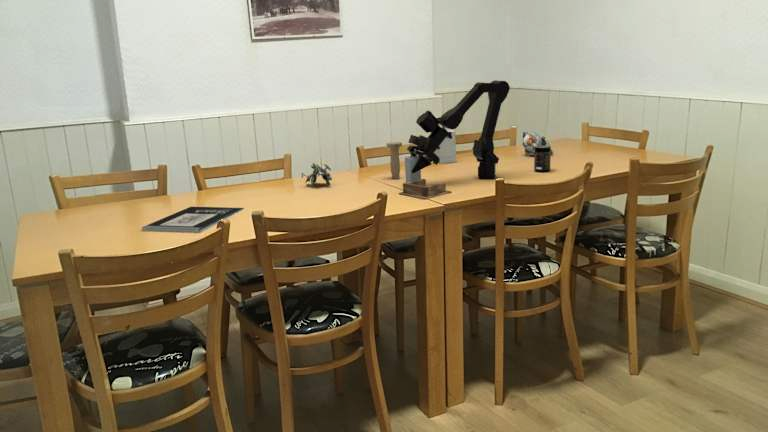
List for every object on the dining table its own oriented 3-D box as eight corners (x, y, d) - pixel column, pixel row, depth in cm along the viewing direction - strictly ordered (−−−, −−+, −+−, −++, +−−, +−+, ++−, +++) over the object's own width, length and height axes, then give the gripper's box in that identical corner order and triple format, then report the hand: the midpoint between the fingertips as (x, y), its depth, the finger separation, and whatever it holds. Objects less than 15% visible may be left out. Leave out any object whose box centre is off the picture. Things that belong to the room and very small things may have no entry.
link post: (416, 185, 252) (415, 155, 249) (421, 187, 248) (420, 156, 245) (405, 187, 250) (404, 156, 247) (410, 189, 246) (409, 158, 243)
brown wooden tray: (425, 187, 248) (424, 177, 247) (451, 192, 238) (451, 182, 237) (398, 194, 239) (398, 183, 238) (424, 199, 229) (424, 188, 228)
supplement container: (552, 170, 270) (553, 145, 267) (547, 173, 264) (547, 148, 262) (537, 169, 273) (537, 145, 271) (531, 172, 268) (531, 147, 265)
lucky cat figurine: (557, 156, 301) (549, 132, 294) (533, 167, 302) (525, 143, 295) (545, 142, 314) (537, 119, 306) (522, 153, 315) (514, 130, 307)
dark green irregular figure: (328, 197, 264) (339, 176, 257) (305, 197, 257) (315, 175, 250) (319, 179, 270) (329, 157, 263) (296, 178, 264) (306, 156, 257)
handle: (404, 178, 267) (403, 143, 263) (390, 180, 265) (389, 144, 261) (400, 176, 272) (399, 141, 268) (386, 178, 270) (385, 143, 266)
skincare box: (452, 160, 303) (451, 129, 299) (456, 162, 297) (456, 130, 294) (435, 162, 301) (434, 130, 298) (439, 164, 296) (438, 132, 292)
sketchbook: (244, 211, 228) (243, 205, 227) (199, 235, 200) (198, 229, 199) (191, 209, 233) (190, 204, 233) (140, 232, 206) (139, 226, 205)
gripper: (410, 124, 253) (386, 155, 252) (431, 129, 236) (405, 162, 235) (429, 142, 258) (405, 172, 257) (450, 148, 241) (425, 180, 240)
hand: (409, 171), depth 247 cm, fingers closed on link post, 4 cm apart
